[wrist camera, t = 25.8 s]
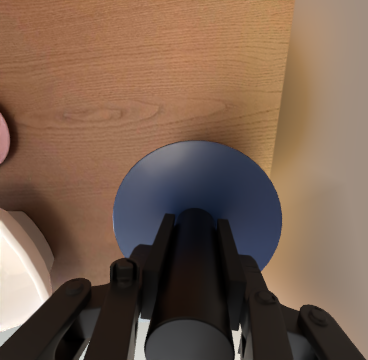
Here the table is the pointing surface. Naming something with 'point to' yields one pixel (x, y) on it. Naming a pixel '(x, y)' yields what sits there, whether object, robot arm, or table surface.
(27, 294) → the bowl
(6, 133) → the plate
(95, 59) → the table surface
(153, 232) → the lid
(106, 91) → the table surface
